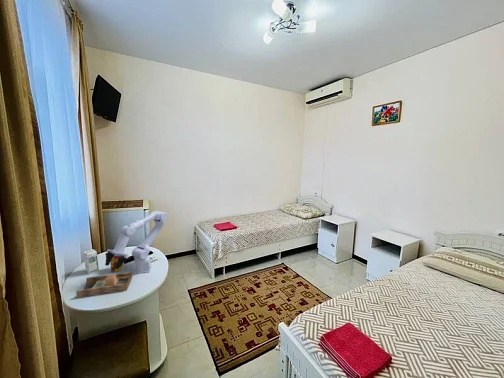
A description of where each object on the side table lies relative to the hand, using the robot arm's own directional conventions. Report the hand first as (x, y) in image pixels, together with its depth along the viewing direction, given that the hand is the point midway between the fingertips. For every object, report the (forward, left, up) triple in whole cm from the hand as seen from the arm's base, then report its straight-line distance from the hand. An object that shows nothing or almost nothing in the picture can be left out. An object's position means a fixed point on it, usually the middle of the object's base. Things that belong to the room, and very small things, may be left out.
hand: (111, 267), depth 132 cm
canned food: (+3, -19, -12) cm, 23 cm away
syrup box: (+19, -21, -12) cm, 31 cm away
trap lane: (+3, +2, -12) cm, 12 cm away
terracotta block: (+1, +2, -10) cm, 10 cm away
